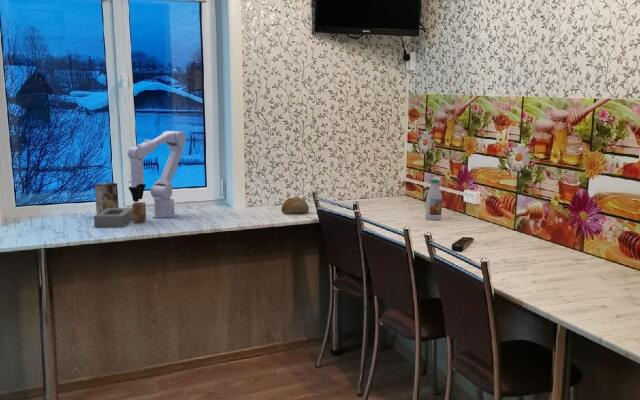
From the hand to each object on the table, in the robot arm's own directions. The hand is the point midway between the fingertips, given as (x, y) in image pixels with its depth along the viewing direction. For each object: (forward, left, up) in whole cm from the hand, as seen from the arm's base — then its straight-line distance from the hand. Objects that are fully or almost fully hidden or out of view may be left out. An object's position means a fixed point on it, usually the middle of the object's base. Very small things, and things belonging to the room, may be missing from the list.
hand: (137, 200), depth 278 cm
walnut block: (0, 0, -11) cm, 11 cm away
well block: (+11, +1, -10) cm, 15 cm away
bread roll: (-76, -18, -11) cm, 79 cm away
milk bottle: (-145, -1, -11) cm, 145 cm away
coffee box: (+19, -16, -11) cm, 27 cm away
